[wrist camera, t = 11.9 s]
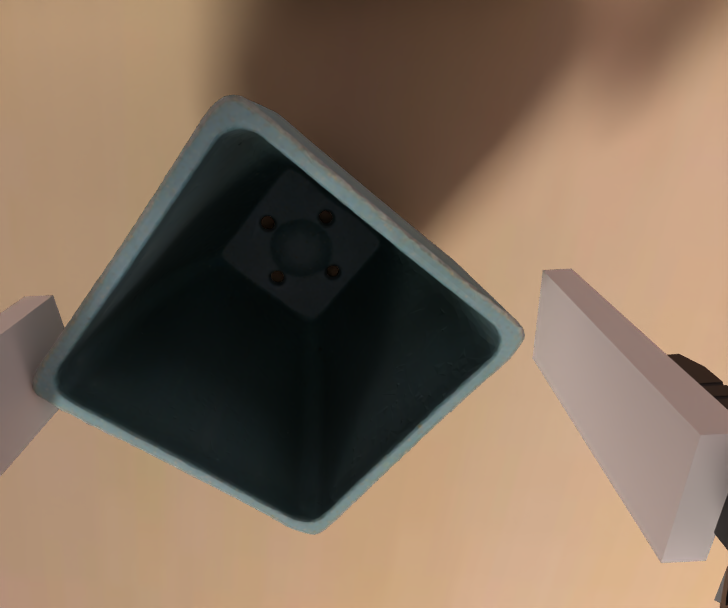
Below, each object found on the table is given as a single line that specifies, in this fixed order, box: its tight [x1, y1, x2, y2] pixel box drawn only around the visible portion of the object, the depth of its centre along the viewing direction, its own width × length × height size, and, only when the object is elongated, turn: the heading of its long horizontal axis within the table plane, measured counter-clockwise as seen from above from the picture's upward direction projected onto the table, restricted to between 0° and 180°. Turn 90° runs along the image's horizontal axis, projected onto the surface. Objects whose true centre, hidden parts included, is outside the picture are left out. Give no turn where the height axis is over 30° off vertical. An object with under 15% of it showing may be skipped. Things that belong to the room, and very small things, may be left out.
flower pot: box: [33, 95, 525, 535], centre depth 16 cm, size 9×9×9 cm
